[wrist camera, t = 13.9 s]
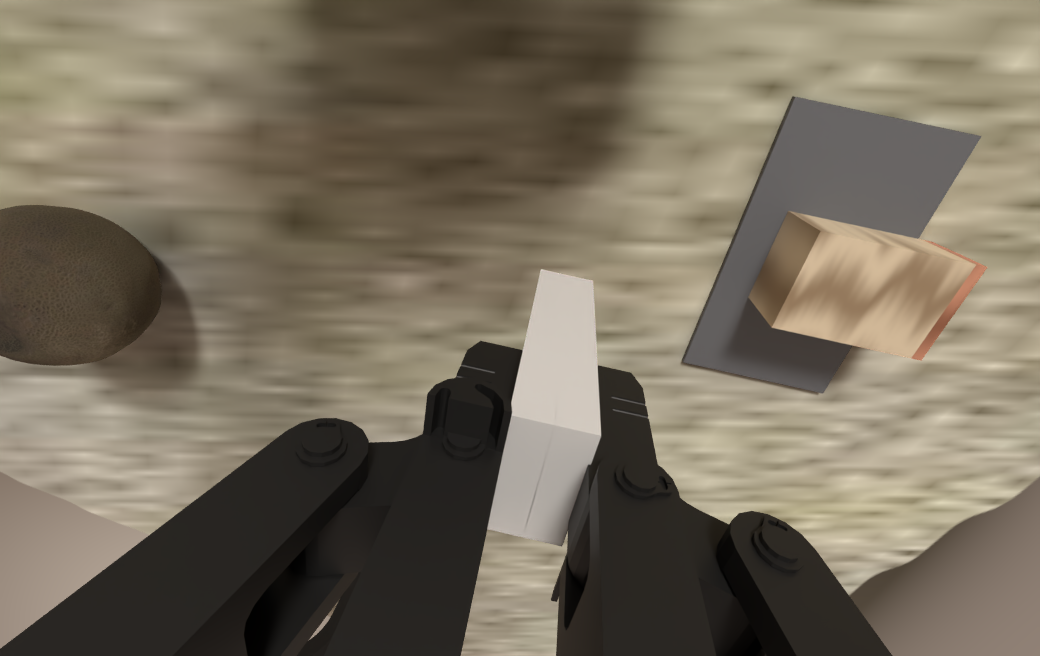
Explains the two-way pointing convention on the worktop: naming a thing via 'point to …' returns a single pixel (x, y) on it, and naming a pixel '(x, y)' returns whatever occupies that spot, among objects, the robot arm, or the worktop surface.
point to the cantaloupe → (71, 286)
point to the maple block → (861, 285)
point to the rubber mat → (830, 195)
